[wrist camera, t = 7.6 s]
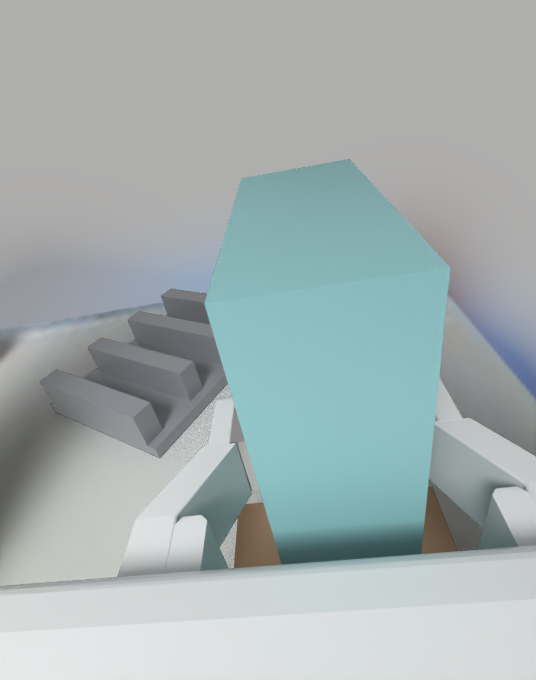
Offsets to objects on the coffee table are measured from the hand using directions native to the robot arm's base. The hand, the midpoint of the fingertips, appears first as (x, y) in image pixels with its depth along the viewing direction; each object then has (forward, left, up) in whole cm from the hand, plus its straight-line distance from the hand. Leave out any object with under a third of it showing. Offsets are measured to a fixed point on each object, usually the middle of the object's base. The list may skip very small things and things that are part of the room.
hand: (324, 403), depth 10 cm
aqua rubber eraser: (0, -1, -7) cm, 7 cm away
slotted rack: (0, +32, -19) cm, 37 cm away
